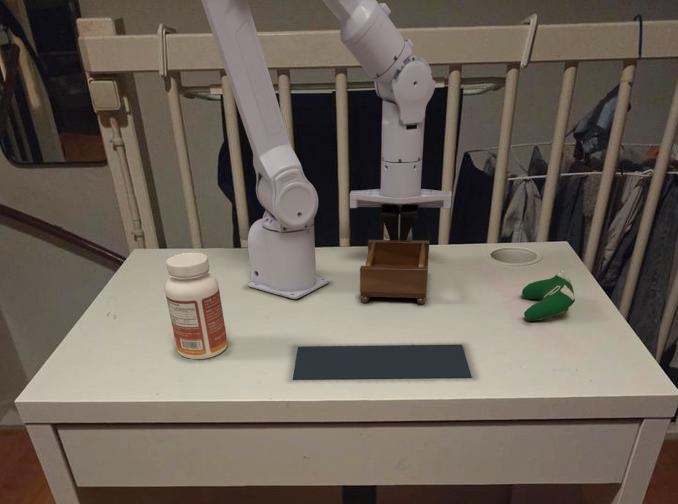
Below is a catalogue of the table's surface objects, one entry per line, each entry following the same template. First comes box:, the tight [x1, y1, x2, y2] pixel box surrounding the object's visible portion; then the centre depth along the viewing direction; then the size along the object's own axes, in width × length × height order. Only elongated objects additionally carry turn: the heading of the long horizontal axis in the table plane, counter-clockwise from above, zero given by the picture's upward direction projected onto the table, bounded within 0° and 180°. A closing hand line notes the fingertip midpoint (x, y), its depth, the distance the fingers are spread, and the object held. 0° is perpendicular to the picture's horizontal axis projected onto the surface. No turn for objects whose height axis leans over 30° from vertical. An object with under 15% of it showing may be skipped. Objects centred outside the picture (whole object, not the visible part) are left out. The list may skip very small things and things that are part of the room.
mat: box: [292, 343, 473, 381], centre depth 72 cm, size 20×8×1 cm, turn 88°
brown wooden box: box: [359, 239, 431, 306], centre depth 88 cm, size 12×9×5 cm
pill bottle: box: [164, 251, 228, 360], centre depth 73 cm, size 6×6×11 cm
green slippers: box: [521, 269, 576, 322], centre depth 81 cm, size 9×4×6 cm
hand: (398, 257), depth 95 cm, fingers closed, pressing on brown wooden box
